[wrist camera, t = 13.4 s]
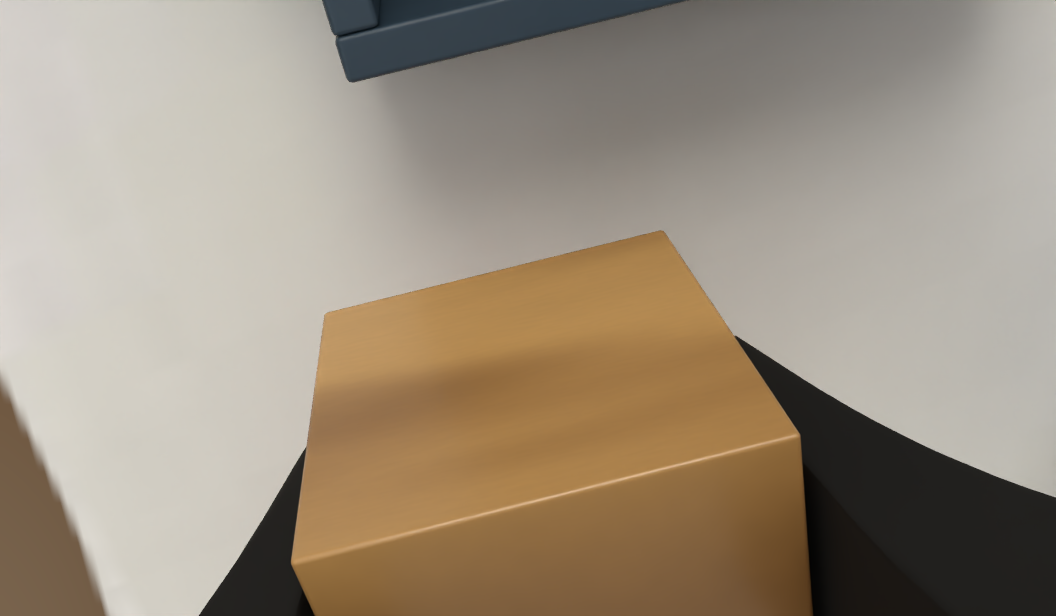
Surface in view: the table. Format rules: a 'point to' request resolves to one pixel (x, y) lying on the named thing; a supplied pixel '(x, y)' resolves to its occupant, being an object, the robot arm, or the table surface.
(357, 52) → the bin
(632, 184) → the table surface
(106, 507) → the table surface
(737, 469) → the maple block
